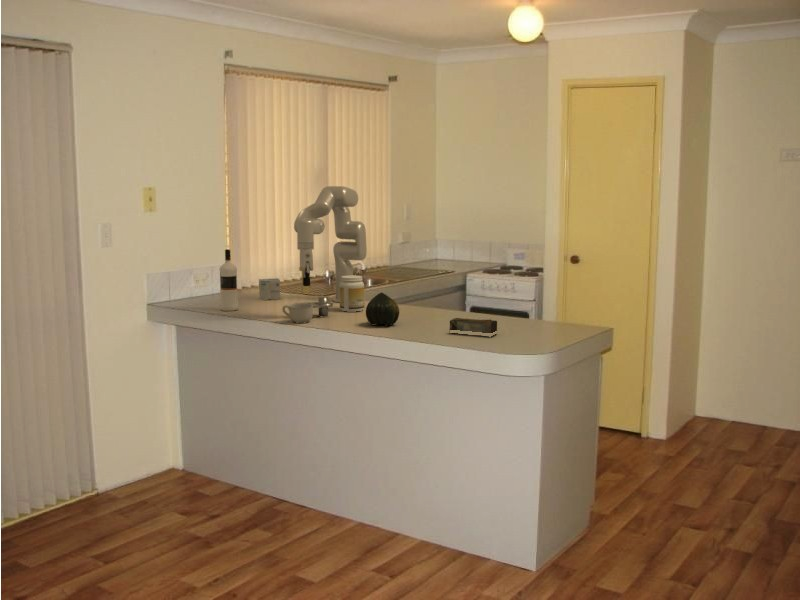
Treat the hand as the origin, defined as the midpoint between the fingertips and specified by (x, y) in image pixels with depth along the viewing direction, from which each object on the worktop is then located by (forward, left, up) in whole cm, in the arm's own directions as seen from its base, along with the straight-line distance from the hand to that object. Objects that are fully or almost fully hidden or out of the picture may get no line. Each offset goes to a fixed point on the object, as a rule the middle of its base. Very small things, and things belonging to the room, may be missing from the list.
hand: (306, 284), depth 374 cm
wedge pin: (0, 0, -3) cm, 3 cm away
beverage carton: (-61, +58, -16) cm, 86 cm away
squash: (-29, +28, -16) cm, 43 cm away
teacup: (+6, +11, -16) cm, 20 cm away
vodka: (+33, -30, -16) cm, 47 cm away
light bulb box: (+9, -59, -16) cm, 62 cm away
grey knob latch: (-4, 0, -15) cm, 16 cm away
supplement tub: (-25, -12, -16) cm, 32 cm away
